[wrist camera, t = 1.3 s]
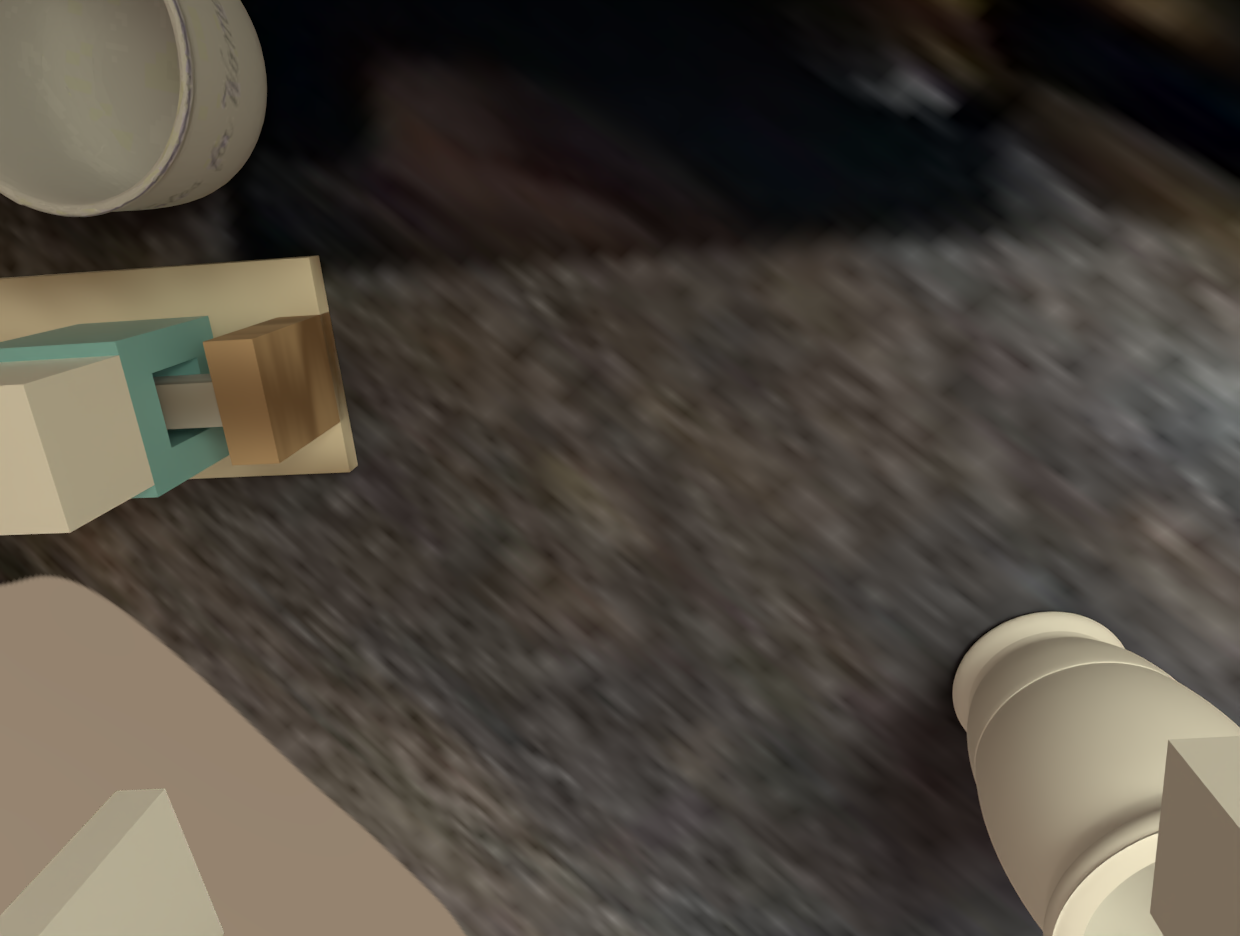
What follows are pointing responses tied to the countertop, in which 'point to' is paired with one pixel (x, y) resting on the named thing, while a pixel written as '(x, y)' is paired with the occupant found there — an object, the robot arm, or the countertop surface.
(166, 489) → the sleeve
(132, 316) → the rail
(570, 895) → the countertop surface
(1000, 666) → the jar
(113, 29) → the teacup
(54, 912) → the robot arm
